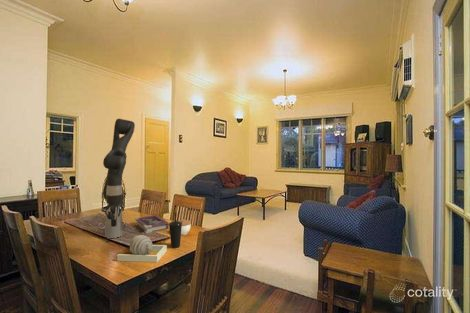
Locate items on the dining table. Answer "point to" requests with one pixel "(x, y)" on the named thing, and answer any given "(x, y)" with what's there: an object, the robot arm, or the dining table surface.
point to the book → (151, 223)
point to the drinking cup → (175, 233)
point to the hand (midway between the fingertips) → (113, 226)
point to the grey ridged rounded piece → (141, 245)
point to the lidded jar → (185, 226)
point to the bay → (144, 258)
